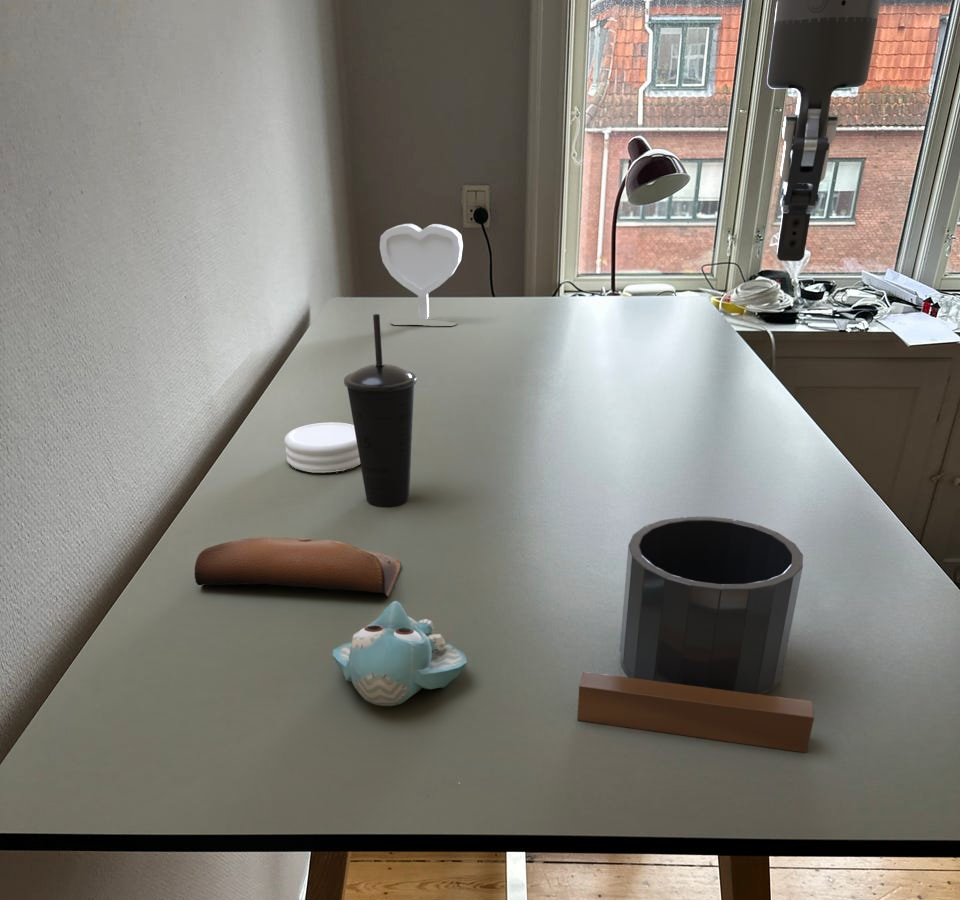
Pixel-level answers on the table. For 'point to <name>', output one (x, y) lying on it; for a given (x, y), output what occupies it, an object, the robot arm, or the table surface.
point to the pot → (709, 604)
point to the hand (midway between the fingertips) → (789, 259)
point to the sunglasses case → (297, 565)
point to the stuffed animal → (397, 658)
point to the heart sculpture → (421, 258)
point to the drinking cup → (383, 426)
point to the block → (696, 711)
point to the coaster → (323, 447)
